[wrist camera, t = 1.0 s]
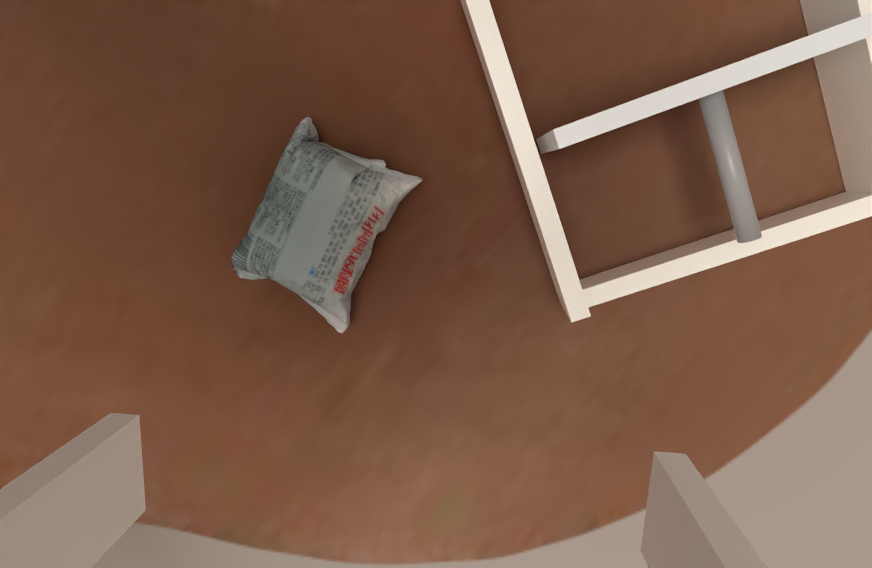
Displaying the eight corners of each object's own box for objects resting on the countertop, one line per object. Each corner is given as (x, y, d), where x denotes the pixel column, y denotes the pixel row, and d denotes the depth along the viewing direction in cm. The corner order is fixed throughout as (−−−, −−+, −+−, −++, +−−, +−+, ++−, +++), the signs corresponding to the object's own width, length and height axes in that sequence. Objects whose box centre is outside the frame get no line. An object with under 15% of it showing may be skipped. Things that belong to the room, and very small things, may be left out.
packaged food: (426, 179, 39) (417, 179, 34) (349, 327, 42) (330, 348, 37) (312, 116, 39) (287, 108, 34) (241, 269, 41) (209, 282, 37)
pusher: (536, 139, 38) (553, 129, 29) (801, 41, 35) (908, -2, 27) (577, 268, 39) (606, 297, 30) (835, 183, 37) (947, 187, 28)
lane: (458, -5, 37) (455, -32, 32) (789, -140, 34) (841, -192, 29) (560, 303, 40) (571, 322, 35) (869, 203, 37) (928, 208, 32)
